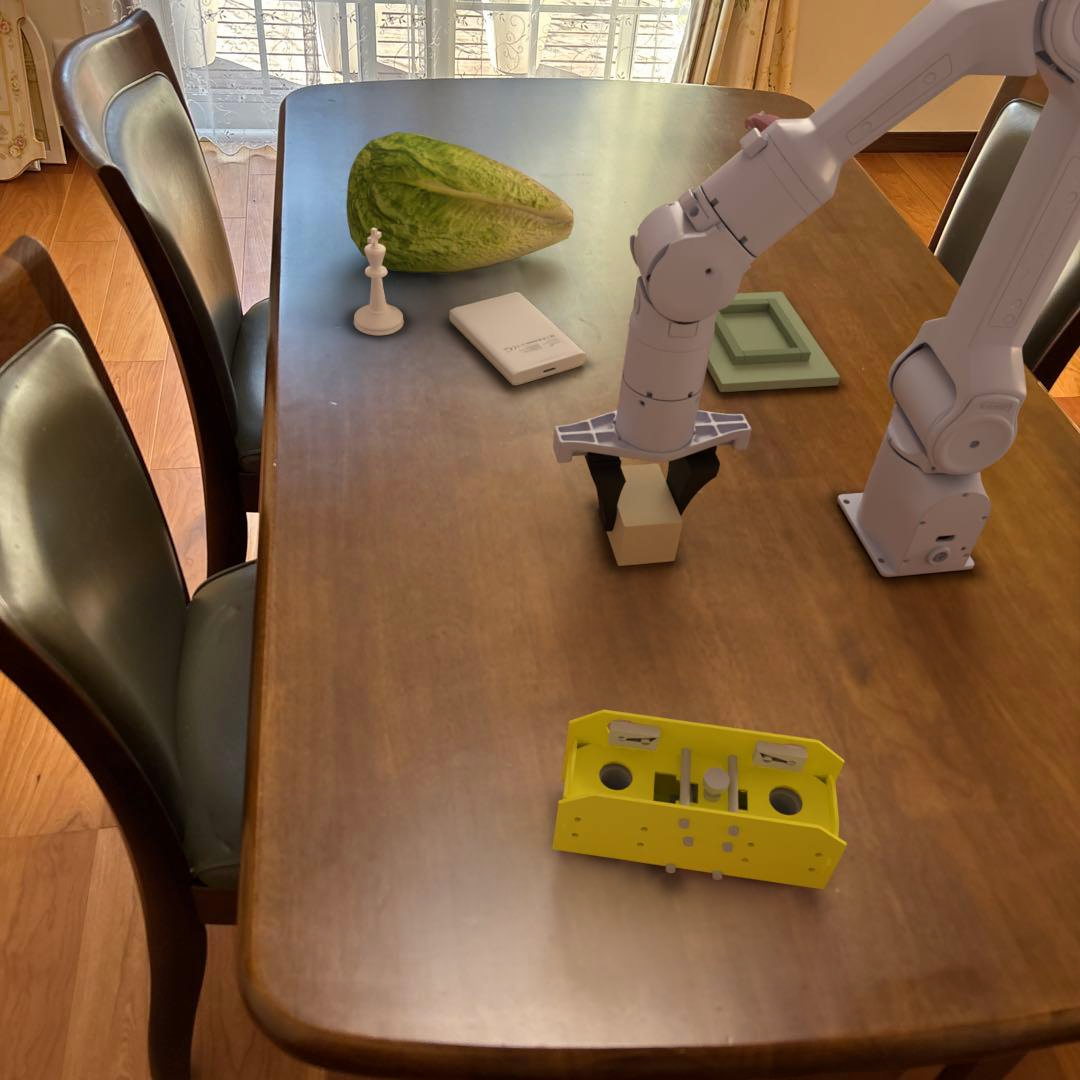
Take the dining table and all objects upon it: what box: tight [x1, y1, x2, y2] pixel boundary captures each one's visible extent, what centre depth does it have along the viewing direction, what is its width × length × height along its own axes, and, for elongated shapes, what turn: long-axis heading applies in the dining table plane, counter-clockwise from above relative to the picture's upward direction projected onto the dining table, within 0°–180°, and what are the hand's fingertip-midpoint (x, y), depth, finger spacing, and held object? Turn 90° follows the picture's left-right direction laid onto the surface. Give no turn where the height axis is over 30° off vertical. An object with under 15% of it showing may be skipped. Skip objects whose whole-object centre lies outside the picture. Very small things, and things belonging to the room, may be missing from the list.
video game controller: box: [744, 110, 782, 135], centre depth 135 cm, size 10×5×7 cm, turn 25°
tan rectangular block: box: [597, 463, 684, 567], centre depth 80 cm, size 7×5×4 cm, turn 11°
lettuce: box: [346, 131, 575, 275], centre depth 108 cm, size 15×24×14 cm, turn 99°
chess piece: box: [353, 228, 405, 337], centre depth 99 cm, size 5×5×10 cm
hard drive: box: [448, 291, 586, 386], centre depth 100 cm, size 2×8×12 cm
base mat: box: [707, 291, 841, 393], centre depth 103 cm, size 16×12×2 cm
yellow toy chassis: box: [551, 709, 848, 890], centre depth 59 cm, size 16×6×8 cm, turn 83°
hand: (638, 520), depth 81 cm, fingers closed on tan rectangular block, 4 cm apart
